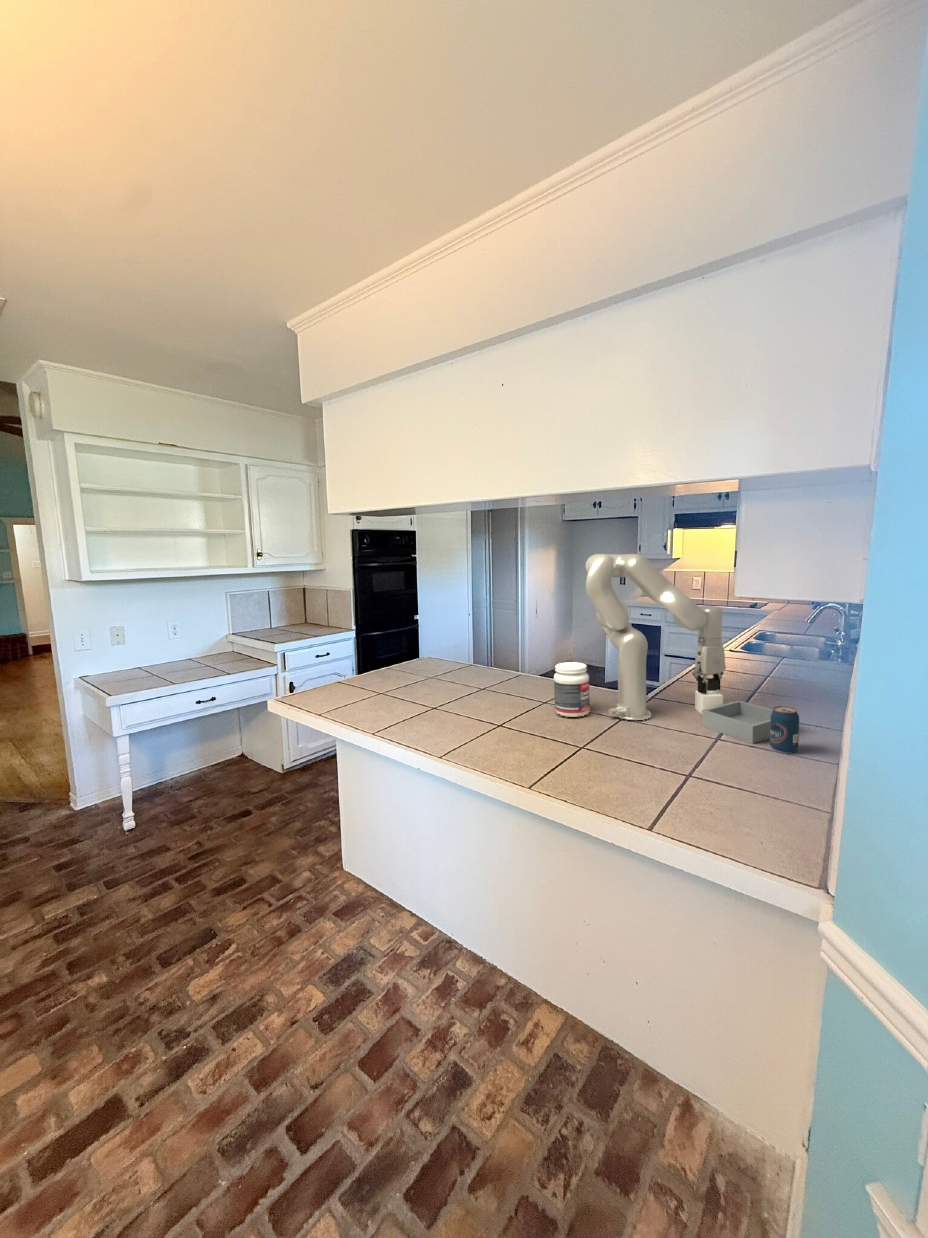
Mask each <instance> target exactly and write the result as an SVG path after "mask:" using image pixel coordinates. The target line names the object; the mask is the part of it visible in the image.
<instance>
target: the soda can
mask: <svg viewBox="0 0 928 1238" xmlns="http://www.w3.org/2000/svg"><path fill="white" fill-rule="evenodd" d="M772 710H773V711H772V712H771V715H770V739H769V744H770V745H769V746H771V748H772V750H773V751H775V752H778V753H782V752H783V754H793V753H792V752H794V753H795V752H796V751H797V750H798V748H799V741H800V740H799V739H800V738H799V737H800V715H799V713H798V710H797V709H796V708H794V707H790V706H785V705H784V706H782V705H780V706H774V707H773V708H772Z"/></svg>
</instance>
